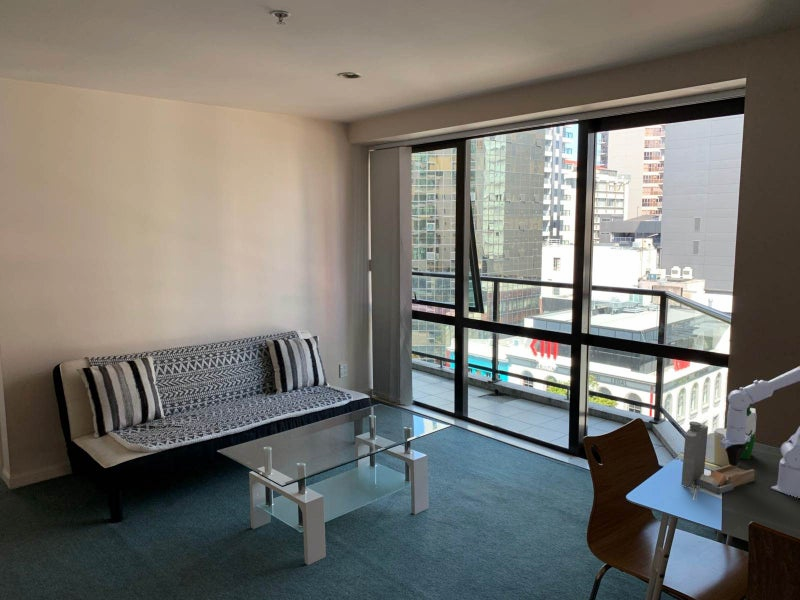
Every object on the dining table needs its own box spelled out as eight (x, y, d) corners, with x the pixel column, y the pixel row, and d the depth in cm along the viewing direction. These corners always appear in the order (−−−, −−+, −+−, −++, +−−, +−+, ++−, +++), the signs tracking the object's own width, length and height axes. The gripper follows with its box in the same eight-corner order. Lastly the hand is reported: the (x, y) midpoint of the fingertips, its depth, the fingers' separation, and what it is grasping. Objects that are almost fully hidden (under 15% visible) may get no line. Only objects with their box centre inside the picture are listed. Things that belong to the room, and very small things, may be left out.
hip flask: (690, 488, 195) (694, 429, 192) (677, 484, 198) (681, 426, 195) (705, 474, 206) (709, 419, 204) (692, 471, 209) (697, 416, 207)
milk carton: (725, 455, 225) (730, 404, 223) (727, 448, 233) (731, 399, 231) (752, 460, 221) (757, 408, 218) (753, 453, 228) (758, 403, 226)
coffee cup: (733, 459, 221) (736, 428, 220) (745, 469, 212) (748, 437, 211) (707, 458, 222) (709, 427, 221) (718, 467, 213) (720, 435, 212)
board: (754, 480, 202) (755, 470, 202) (730, 488, 195) (731, 477, 195) (733, 473, 208) (734, 462, 208) (709, 480, 201) (710, 470, 201)
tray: (733, 489, 195) (733, 483, 194) (718, 494, 191) (719, 488, 190) (709, 480, 201) (710, 474, 201) (695, 485, 197) (696, 479, 197)
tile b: (713, 478, 193) (711, 483, 192) (719, 483, 194) (716, 488, 194) (702, 473, 196) (699, 479, 196) (707, 479, 198) (704, 484, 197)
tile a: (726, 478, 197) (725, 474, 196) (720, 487, 195) (718, 483, 195) (715, 474, 200) (713, 470, 199) (709, 482, 199) (707, 479, 198)
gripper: (736, 419, 207) (733, 457, 208) (712, 425, 199) (709, 464, 201) (757, 425, 201) (754, 464, 202) (732, 432, 193) (729, 472, 195)
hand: (733, 464), depth 201 cm, fingers closed
